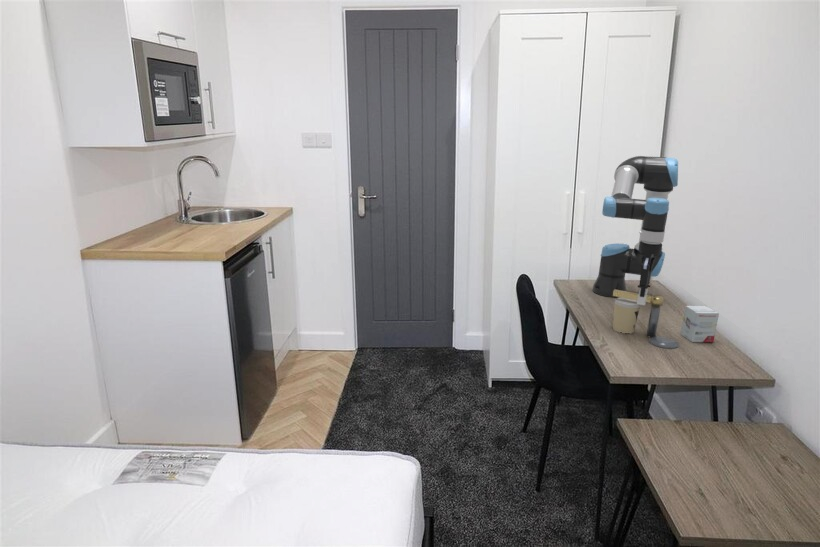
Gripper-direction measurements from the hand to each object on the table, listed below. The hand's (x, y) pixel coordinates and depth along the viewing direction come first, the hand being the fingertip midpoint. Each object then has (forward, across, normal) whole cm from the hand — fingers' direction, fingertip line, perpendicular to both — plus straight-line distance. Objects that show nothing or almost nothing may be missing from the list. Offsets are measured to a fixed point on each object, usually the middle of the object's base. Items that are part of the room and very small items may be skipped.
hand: (641, 304), depth 201 cm
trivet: (+13, 0, +10) cm, 16 cm away
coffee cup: (+14, -6, -6) cm, 16 cm away
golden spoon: (+1, -6, -2) cm, 6 cm away
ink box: (+14, -14, +20) cm, 27 cm away
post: (+13, -6, +4) cm, 15 cm away
